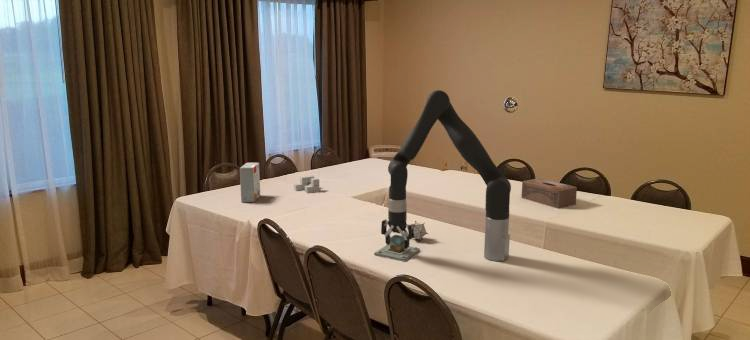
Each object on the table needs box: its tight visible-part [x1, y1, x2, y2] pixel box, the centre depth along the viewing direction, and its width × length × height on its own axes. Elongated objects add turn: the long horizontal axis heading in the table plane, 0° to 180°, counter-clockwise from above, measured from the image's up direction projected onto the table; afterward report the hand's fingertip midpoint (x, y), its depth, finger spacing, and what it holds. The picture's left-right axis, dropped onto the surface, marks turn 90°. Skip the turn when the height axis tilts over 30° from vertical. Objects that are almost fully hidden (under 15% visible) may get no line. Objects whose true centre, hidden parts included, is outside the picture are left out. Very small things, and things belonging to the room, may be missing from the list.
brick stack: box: [390, 234, 405, 253], centre depth 224 cm, size 4×4×6 cm
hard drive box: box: [239, 162, 261, 203], centre depth 306 cm, size 16×8×20 cm, turn 179°
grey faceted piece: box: [412, 220, 429, 242], centre depth 240 cm, size 9×8×10 cm
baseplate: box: [373, 244, 421, 262], centre depth 224 cm, size 14×14×2 cm
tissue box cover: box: [520, 177, 578, 209], centre depth 300 cm, size 26×14×10 cm, turn 32°
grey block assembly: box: [293, 175, 320, 194], centre depth 325 cm, size 12×12×8 cm
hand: (397, 246), depth 224 cm, fingers open, 8 cm apart
